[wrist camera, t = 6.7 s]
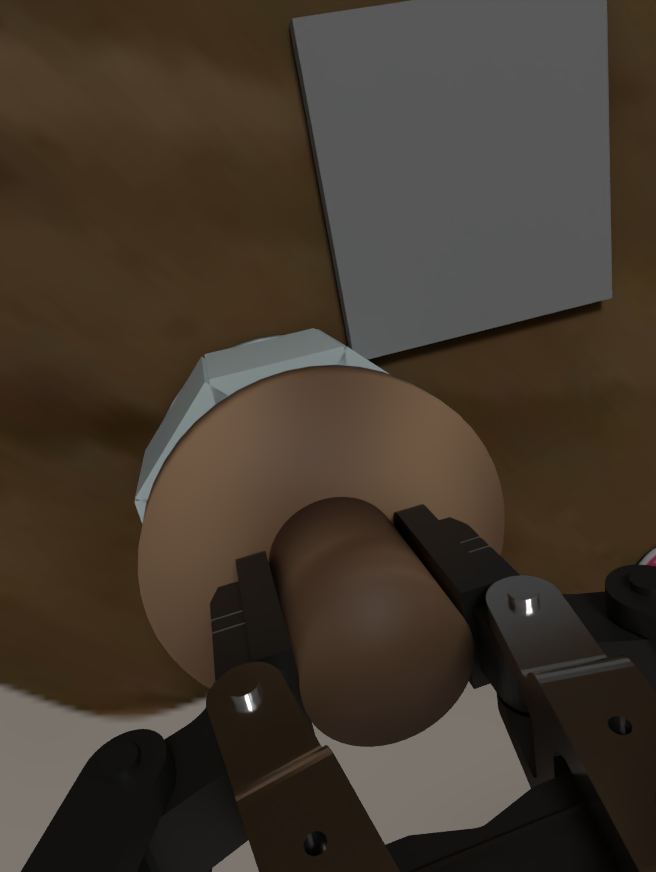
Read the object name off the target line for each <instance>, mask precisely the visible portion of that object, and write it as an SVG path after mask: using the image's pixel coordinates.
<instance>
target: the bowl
mask: <svg viewBox="0 0 656 872" xmlns="http://www.w3.org/2000/svg"><path fill="white" fill-rule="evenodd" d="M322 365H345V366H358V367H363V368H368V369H372V370H377V371H382V372H385V371H384V370H382V369H381V368H379V367H378V366H376V365H375V364H373V363H372V362H370V361H369V360H367V359H366V358H364V357H362V356H361V355H359V354H358V353H356V352H355V351H353V350H352V349H350V348H349V347H347V346H345V345H344V344H342V343H340V342H339V341H337V340H335V339H334V338H332V337H330V336H329V335H327V334H325V333H323V332H322V331H320V330H318V329H317V330H316V329H314V328H313V329H308V330H304V331H300V332H296V333H292V334H288V335H272V336H266V337H261V338H256V339H253V340H249V341H246V342H243V343H240V344H238V345H236V346H233V347H231V348H229V349H225V350H221V351H217V352H212V353H208V354H205V358H203V357H201V358H200V360H199V362H198V363H197V365H196V367H195V368H194V370H193V372H192V373H191V375H190V377H189V378H188V380H187V381H186V383H185V384H184V385H183V386H182V388H181V389H180V390H179V392H178V393H177V395H176V396H175V398H174V399H173V401H172V403H171V405H170V407H169V409H168V411H167V413H166V415H165V418H164V420H163V422H162V424H161V425H160V427H159V429H158V430H157V432H156V434H155V435H154V437H153V439H152V440H151V442H150V444H149V445H148V447H147V449H146V450H145V454H144V459H143V463H142V468H141V473H140V477H139V482H138V487H137V491H136V496H135V505H136V508H137V510H138V513H139V516H140V519H141V522H142V524H143V518H144V513H145V507H146V503H147V500H148V497H149V494H150V491H151V488H152V485H153V482H154V480H155V478H156V476H157V474H158V472H159V470H160V468H161V467H162V465H163V463H164V461H165V459H166V458H167V456H168V455H169V453H170V452H171V450H172V449H173V448H174V446H175V445H176V443H177V442H178V440H179V439H180V438H181V437H182V436H183V435H184V434H185V433H186V431H187V430H188V429H189V428H190V427H191V426H192V425H193V424H194V423H195V422H196V421H197V420H198V419H199V418H200V417H201V416H202V415H204V414H205V413H206V412H207V411H208V410H210V409H211V408H212V407H213V406H214V405H215V404H217V403H219V402H220V401H222V400H223V399H225V398H226V397H228V396H229V395H231V394H232V393H234V392H236V391H237V390H239V389H241V388H243V387H245V386H247V385H250V384H252V383H254V382H256V381H258V380H260V379H263V378H266V377H269V376H272V375H275V374H278V373H281V372H284V371H288V370H293V369H298V368H304V367H309V366H322ZM385 373H387V372H385ZM387 374H388V373H387Z"/></svg>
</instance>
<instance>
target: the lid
mask: <svg viewBox="0 0 656 872" xmlns="http://www.w3.org/2000/svg"><path fill="white" fill-rule="evenodd" d="M421 504H424V505H425V506H426V507H427V508H428V509H429V510H430V511H431V512H432V513H433V514H434V515H435V517H436V518H437V519H438V520H441V519H445V518H448V517H451V518H453V519H456V520H458V521H461V522H463V523H466V524H468V525H469V526H470V527H471V528H472V529H473V530H474V531H475V532H476V533H477V534H478V535H479V537H480V538H482V539H483V540H484V541H485V542H486V543H487V544H488V545H489V547H492V548H493V549H494V550H495V551H496V552H497V553H498V554H499V555H500V556H501V552H502V548H503V540H504V530H505V512H504V501H503V495H502V489H501V484H500V481H499V478H498V475H497V472H496V469H495V466H494V464H493V462H492V460H491V458H490V456H489V454H488V452H487V450H486V448H485V446H484V444H483V443H482V442H481V440H480V439H479V437H478V436H477V435H476V433H475V432H474V430H473V429H472V428H471V427H470V426H469V425H468V424H467V423H466V422H465V421H464V420H463V419H462V418H461V417H460V416H459V415H458V414H457V413H456V412H455V411H454V410H452V409H451V408H450V407H448V406H447V405H446V404H444V403H443V402H442V401H440V400H439V399H437V398H435V397H434V396H432V395H430V394H429V393H427V392H425V391H423V390H422V389H420V388H418V387H416V386H414V385H413V384H411V383H409V382H407V381H405V380H403V379H401V378H398V377H395V376H393V375H390V374H387V373H385V372H382V371H377V370H372V369H368V368H363V367H358V366H345V365H322V366H309V367H304V368H298V369H293V370H288V371H284V372H281V373H278V374H275V375H272V376H269V377H266V378H263V379H260V380H258V381H256V382H254V383H252V384H250V385H247V386H245V387H243V388H241V389H239V390H237V391H236V392H234V393H232V394H231V395H229V396H228V397H226V398H225V399H223V400H222V401H220V402H219V403H217V404H215V405H214V406H213V407H212V408H211V409H210V410H208V411H207V412H206V413H205V414H204V415H202V416H201V417H200V418H199V419H198V420H197V421H196V422H195V423H194V424H193V425H192V426H191V427H190V428H189V429H188V430H187V431H186V433H185V434H184V435H183V436H182V437H181V438H180V439H179V440H178V442H177V443H176V445H175V446H174V448H173V449H172V450H171V452H170V453H169V455H168V456H167V458H166V459H165V461H164V463H163V465H162V467H161V468H160V470H159V472H158V474H157V476H156V478H155V480H154V482H153V485H152V488H151V491H150V494H149V497H148V500H147V503H146V507H145V513H144V518H143V524H142V529H141V536H140V542H139V548H138V578H139V585H140V593H141V598H142V601H143V604H144V608H145V611H146V615H147V618H148V620H149V622H150V624H151V626H152V628H153V630H154V632H155V634H156V636H157V638H158V639H159V641H160V642H161V644H162V645H163V647H164V648H165V649H166V651H167V652H168V654H169V655H170V656H171V657H172V658H173V659H174V660H175V661H176V663H177V664H178V665H179V666H180V667H181V668H182V669H183V670H184V671H185V672H187V673H188V674H189V675H191V676H192V677H193V678H194V679H196V680H197V681H198V682H199V683H201V684H202V685H204V686H206V687H208V688H209V689H210V688H211V687H212V685H213V684H214V683H215V670H214V656H213V641H212V635H213V634H212V627H211V622H212V621H211V613H210V602H211V600H212V598H213V596H214V594H215V592H216V590H217V588H218V587H221V586H224V585H227V584H230V583H234V582H237V581H239V580H238V574H237V568H236V561H235V559H239V558H242V557H245V556H249V555H252V554H255V553H259V552H262V551H266V555H267V558H268V562H269V566H270V570H271V573H272V577H273V581H274V584H275V588H276V592H277V596H278V599H279V603H280V607H281V611H282V614H283V618H284V622H285V626H286V629H287V633H288V637H289V640H290V644H291V648H292V652H293V655H294V659H295V663H296V667H297V670H298V674H299V689H300V694H301V699H302V703H303V706H304V708H305V711H306V713H307V715H308V717H309V718H310V720H311V722H312V723H313V724H314V725H315V726H316V727H317V728H318V729H319V730H320V731H321V732H322V733H324V734H325V735H327V736H328V737H330V738H332V739H334V740H336V741H339V742H341V743H345V744H349V745H354V746H367V747H368V746H370V747H373V746H382V745H387V744H392V743H396V742H399V741H402V740H405V739H407V738H410V737H412V736H414V735H416V734H418V733H420V732H422V731H424V730H425V729H427V728H428V727H430V726H431V725H433V724H434V723H435V722H437V721H438V720H439V719H440V718H442V717H443V716H444V715H445V714H446V713H447V712H448V711H449V709H451V708H452V706H453V705H454V704H455V703H456V701H457V700H458V699H459V697H460V696H461V694H462V693H463V691H464V689H465V687H466V685H467V683H468V681H469V678H470V676H471V673H472V669H473V665H474V656H475V648H474V640H473V636H472V633H471V630H470V628H469V626H468V624H467V622H466V621H465V619H464V618H463V616H462V615H461V614H460V612H459V611H458V610H457V608H456V607H455V606H454V604H453V603H452V602H451V600H450V599H449V598H448V596H447V595H446V594H445V593H444V591H443V590H442V589H441V587H440V586H439V585H438V583H437V582H436V581H435V579H434V578H433V577H432V575H431V574H430V573H429V571H428V570H427V569H426V567H425V566H424V565H423V564H422V562H421V561H420V560H419V558H418V557H417V556H416V554H415V553H414V552H413V550H412V549H411V548H410V546H409V545H408V544H407V542H406V541H405V540H404V538H403V537H402V536H401V535H400V533H399V532H398V531H397V529H396V528H395V527H394V522H393V514H394V512H397V511H400V510H404V509H407V508H410V507H414V506H417V505H421Z"/></svg>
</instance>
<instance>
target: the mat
mask: <svg viewBox="0 0 656 872" xmlns="http://www.w3.org/2000/svg"><path fill="white" fill-rule="evenodd" d="M289 27H290V33H291V38H292V43H293V49H294V54H295V60H296V65H297V70H298V76H299V81H300V87H301V92H302V97H303V103H304V108H305V114H306V119H307V124H308V130H309V135H310V141H311V146H312V151H313V157H314V162H315V168H316V173H317V178H318V184H319V189H320V195H321V200H322V205H323V211H324V216H325V222H326V227H327V232H328V238H329V243H330V249H331V254H332V259H333V265H334V270H335V276H336V281H337V286H338V292H339V297H340V302H341V308H342V313H343V319H344V324H345V329H346V335H347V340H348V346H349V348H350V349H352V350H353V351H355V352H356V353H358V354H359V355H361V356H362V357H364V358H366V359H367V360H368V359H372V358H376V357H380V356H384V355H388V354H392V353H396V352H400V351H404V350H408V349H412V348H416V347H419V346H423V345H427V344H431V343H435V342H439V341H443V340H447V339H451V338H455V337H459V336H463V335H467V334H471V333H475V332H479V331H483V330H487V329H491V328H495V327H499V326H503V325H507V324H511V323H515V322H519V321H523V320H527V319H531V318H535V317H539V316H543V315H547V314H551V313H554V312H558V311H562V310H566V309H570V308H574V307H578V306H582V305H586V304H590V303H594V302H598V301H602V300H606V299H610V298H612V259H611V205H610V150H609V95H608V41H607V0H411V1H405V2H398V3H392V4H385V5H378V6H372V7H365V8H358V9H352V10H345V11H338V12H332V13H325V14H319V15H312V16H305V17H299V18H292V20H291V22H290V24H289Z"/></svg>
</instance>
